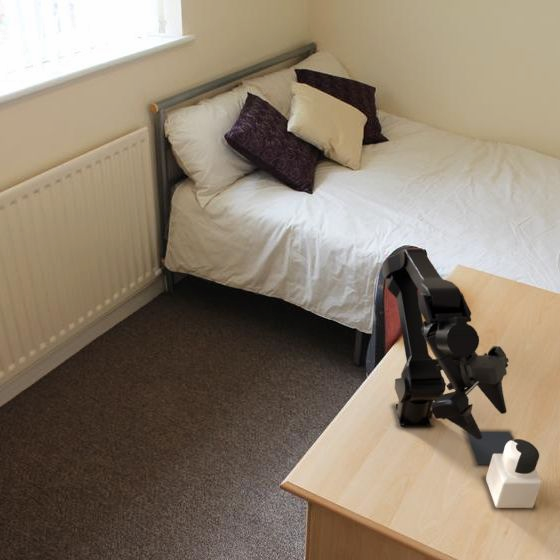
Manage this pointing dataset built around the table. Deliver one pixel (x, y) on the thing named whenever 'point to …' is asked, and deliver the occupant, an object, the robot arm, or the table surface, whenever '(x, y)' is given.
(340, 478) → the table surface
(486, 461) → the felt pad
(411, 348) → the robot arm
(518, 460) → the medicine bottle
